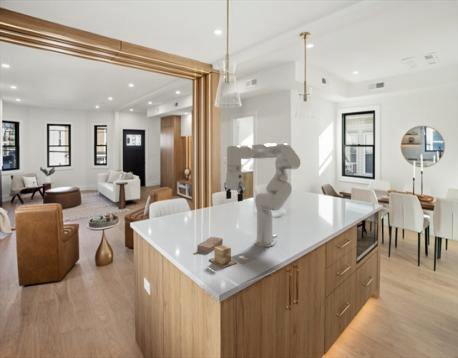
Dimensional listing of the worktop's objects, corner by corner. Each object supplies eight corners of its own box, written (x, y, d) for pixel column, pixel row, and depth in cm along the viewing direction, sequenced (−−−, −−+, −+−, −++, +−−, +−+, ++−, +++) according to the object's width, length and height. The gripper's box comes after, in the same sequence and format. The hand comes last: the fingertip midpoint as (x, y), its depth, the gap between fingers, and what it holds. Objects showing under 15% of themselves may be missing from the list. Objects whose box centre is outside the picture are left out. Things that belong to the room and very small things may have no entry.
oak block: (223, 257, 136) (223, 244, 135) (231, 261, 131) (230, 247, 130) (214, 260, 132) (214, 247, 131) (221, 264, 127) (221, 250, 126)
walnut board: (222, 257, 139) (222, 255, 139) (237, 264, 130) (237, 262, 129) (208, 261, 133) (208, 259, 133) (222, 269, 124) (222, 267, 124)
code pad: (244, 253, 144) (244, 252, 144) (258, 259, 135) (258, 258, 135) (228, 258, 137) (228, 257, 137) (242, 265, 129) (242, 264, 129)
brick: (209, 255, 143) (208, 246, 142) (196, 252, 147) (196, 244, 146) (223, 245, 157) (223, 238, 157) (211, 243, 161) (211, 236, 161)
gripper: (250, 169, 135) (250, 201, 137) (229, 167, 148) (229, 197, 150) (239, 169, 130) (239, 203, 132) (219, 168, 144) (219, 198, 145)
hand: (234, 199), depth 141 cm, fingers open, 9 cm apart
